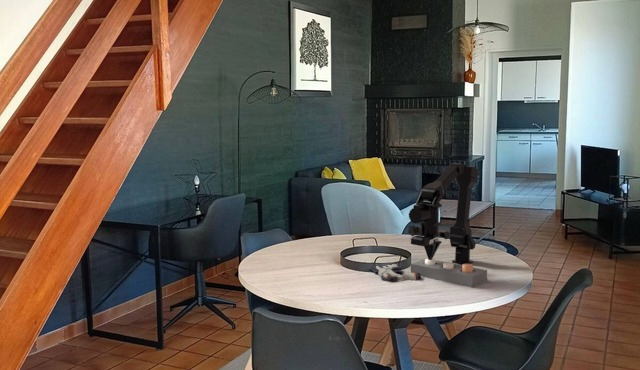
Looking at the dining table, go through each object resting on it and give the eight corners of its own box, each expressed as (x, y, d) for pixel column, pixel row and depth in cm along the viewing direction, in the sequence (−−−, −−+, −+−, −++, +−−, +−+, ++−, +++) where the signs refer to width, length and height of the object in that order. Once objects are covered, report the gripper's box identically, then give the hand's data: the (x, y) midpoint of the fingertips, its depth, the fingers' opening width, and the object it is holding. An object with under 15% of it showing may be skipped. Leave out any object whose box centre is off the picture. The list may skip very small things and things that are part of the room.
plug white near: (428, 270, 239) (428, 257, 239) (436, 272, 237) (437, 259, 236) (422, 272, 237) (423, 259, 236) (431, 274, 234) (431, 261, 233)
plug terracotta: (465, 276, 229) (465, 263, 228) (474, 278, 226) (474, 264, 225) (459, 278, 226) (460, 265, 225) (469, 280, 223) (469, 266, 223)
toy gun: (423, 281, 229) (386, 285, 224) (401, 266, 247) (366, 270, 243) (424, 274, 228) (386, 278, 224) (401, 259, 247) (366, 263, 242)
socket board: (426, 268, 244) (426, 258, 244) (486, 280, 227) (487, 270, 226) (410, 273, 236) (410, 263, 236) (472, 287, 219) (472, 276, 218)
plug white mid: (446, 274, 234) (446, 261, 233) (455, 276, 231) (455, 263, 231) (440, 276, 231) (441, 263, 231) (449, 278, 229) (450, 265, 228)
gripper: (426, 213, 246) (425, 251, 248) (399, 220, 233) (398, 260, 235) (450, 217, 239) (450, 256, 241) (424, 224, 225) (423, 266, 227)
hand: (430, 259), depth 236 cm, fingers closed, pressing on plug white near
